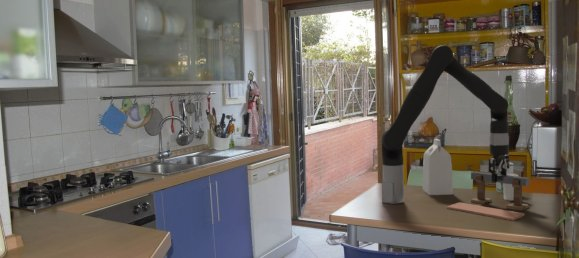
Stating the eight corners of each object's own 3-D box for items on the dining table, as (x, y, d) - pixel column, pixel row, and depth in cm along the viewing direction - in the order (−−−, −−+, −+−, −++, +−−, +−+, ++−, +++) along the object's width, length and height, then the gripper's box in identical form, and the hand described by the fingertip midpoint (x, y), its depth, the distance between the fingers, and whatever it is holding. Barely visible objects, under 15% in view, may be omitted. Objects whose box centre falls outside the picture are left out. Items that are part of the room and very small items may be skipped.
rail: (526, 186, 195) (526, 178, 195) (471, 179, 213) (470, 172, 213) (529, 185, 197) (529, 177, 197) (474, 178, 215) (474, 171, 215)
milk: (453, 194, 228) (453, 140, 226) (429, 195, 228) (428, 141, 226) (445, 189, 240) (445, 137, 238) (422, 189, 240) (422, 138, 238)
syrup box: (495, 191, 232) (495, 161, 231) (507, 190, 232) (507, 161, 231) (501, 193, 226) (502, 163, 225) (513, 193, 227) (514, 162, 225)
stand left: (483, 204, 208) (483, 176, 207) (470, 202, 212) (470, 175, 211) (491, 201, 212) (491, 174, 211) (478, 199, 217) (478, 172, 216)
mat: (513, 220, 182) (513, 218, 182) (446, 208, 203) (446, 206, 203) (524, 215, 188) (524, 213, 188) (459, 204, 209) (459, 202, 209)
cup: (502, 200, 214) (502, 176, 213) (501, 197, 220) (502, 173, 219) (518, 201, 211) (518, 176, 210) (517, 197, 217) (517, 174, 216)
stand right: (521, 210, 196) (521, 181, 195) (506, 208, 200) (506, 179, 199) (528, 207, 200) (528, 178, 199) (514, 205, 205) (514, 177, 204)
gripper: (498, 141, 211) (498, 177, 213) (482, 144, 202) (482, 182, 204) (515, 142, 206) (515, 179, 207) (500, 145, 197) (500, 184, 198)
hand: (499, 180), depth 205 cm, fingers open, 8 cm apart
